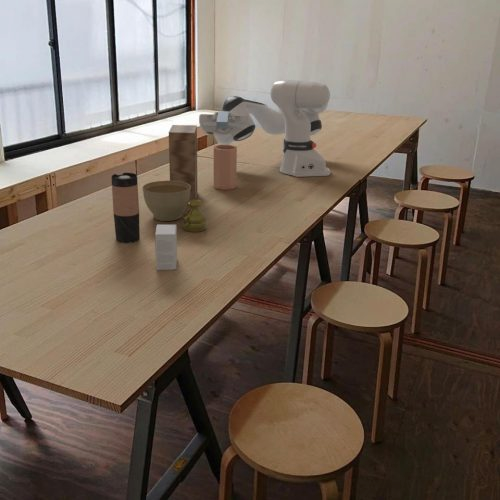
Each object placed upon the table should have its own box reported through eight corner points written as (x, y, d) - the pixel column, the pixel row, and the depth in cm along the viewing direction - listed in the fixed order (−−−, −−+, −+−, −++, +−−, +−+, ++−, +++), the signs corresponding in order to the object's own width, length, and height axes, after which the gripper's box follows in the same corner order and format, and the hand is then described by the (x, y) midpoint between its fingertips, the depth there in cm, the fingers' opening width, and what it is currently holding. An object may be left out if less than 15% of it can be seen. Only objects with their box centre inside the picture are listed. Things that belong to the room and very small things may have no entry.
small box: (157, 258, 168) (156, 224, 164) (177, 258, 168) (176, 223, 164) (155, 270, 161) (154, 234, 157) (176, 270, 161) (175, 234, 157)
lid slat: (218, 117, 239) (218, 111, 238) (228, 117, 239) (228, 111, 238) (216, 128, 217) (216, 121, 216) (227, 128, 217) (227, 122, 216)
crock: (236, 183, 241) (236, 145, 235) (236, 190, 233) (236, 150, 227) (214, 183, 241) (214, 144, 235) (213, 189, 233) (213, 149, 227)
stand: (197, 192, 228) (196, 125, 219) (195, 203, 215) (194, 132, 206) (174, 192, 228) (172, 124, 218) (170, 203, 215) (168, 132, 205)
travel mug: (134, 244, 177) (131, 180, 170) (111, 242, 179) (106, 178, 171) (144, 235, 184) (141, 173, 177) (121, 233, 186) (117, 171, 178)
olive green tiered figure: (197, 234, 187) (197, 204, 183) (178, 229, 190) (178, 199, 187) (210, 227, 193) (210, 198, 189) (192, 223, 196) (192, 194, 192)
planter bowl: (198, 213, 206) (198, 182, 202) (178, 227, 192) (178, 195, 188) (157, 207, 211) (156, 177, 207) (134, 221, 197) (133, 189, 193)
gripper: (248, 134, 249) (249, 122, 235) (200, 132, 249) (198, 121, 235) (248, 119, 250) (249, 107, 236) (200, 118, 250) (198, 106, 236)
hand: (223, 114), depth 236 cm, fingers closed on lid slat, 4 cm apart
